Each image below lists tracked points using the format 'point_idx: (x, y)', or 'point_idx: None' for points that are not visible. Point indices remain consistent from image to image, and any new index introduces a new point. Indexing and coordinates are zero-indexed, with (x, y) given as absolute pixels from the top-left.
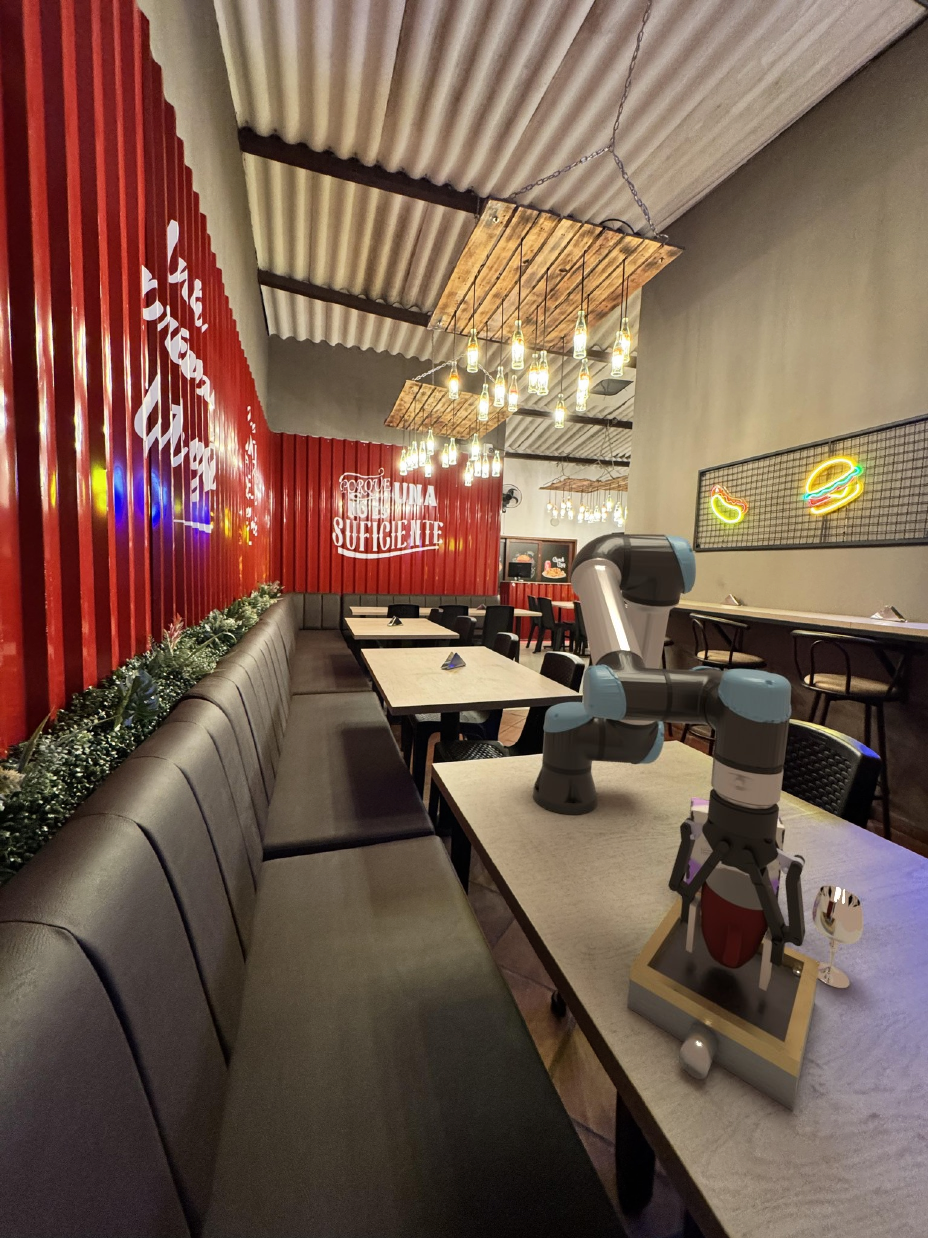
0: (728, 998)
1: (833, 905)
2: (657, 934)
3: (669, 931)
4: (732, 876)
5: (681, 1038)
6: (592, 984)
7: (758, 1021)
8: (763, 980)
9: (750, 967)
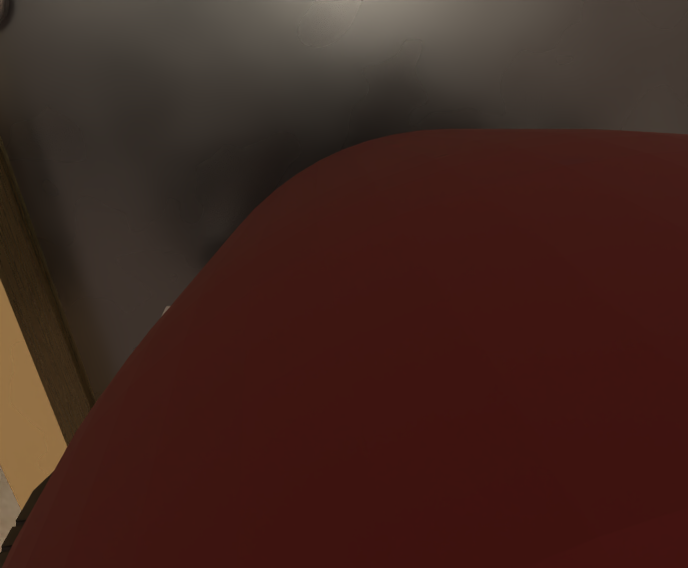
0: None
1: None
2: (10, 435)
3: (29, 352)
4: (341, 440)
5: None
6: (8, 528)
7: None
8: None
9: (502, 113)
